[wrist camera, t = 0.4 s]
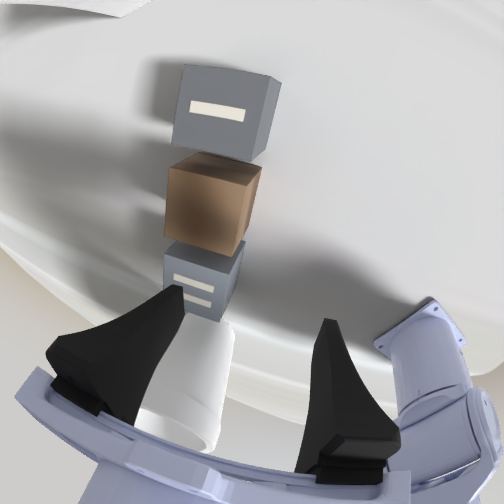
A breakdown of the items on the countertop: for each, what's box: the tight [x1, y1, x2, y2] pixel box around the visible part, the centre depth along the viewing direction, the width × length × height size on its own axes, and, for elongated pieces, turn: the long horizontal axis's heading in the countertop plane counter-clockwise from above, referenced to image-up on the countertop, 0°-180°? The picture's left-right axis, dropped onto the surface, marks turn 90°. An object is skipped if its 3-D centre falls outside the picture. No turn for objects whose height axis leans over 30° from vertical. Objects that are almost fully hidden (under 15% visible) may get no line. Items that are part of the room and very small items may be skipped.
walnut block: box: [164, 152, 262, 257], centre depth 20 cm, size 5×5×5 cm
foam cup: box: [134, 312, 235, 454], centre depth 25 cm, size 10×9×13 cm
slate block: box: [163, 240, 245, 323], centre depth 23 cm, size 5×5×5 cm
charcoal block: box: [171, 65, 282, 162], centre depth 16 cm, size 5×5×5 cm
